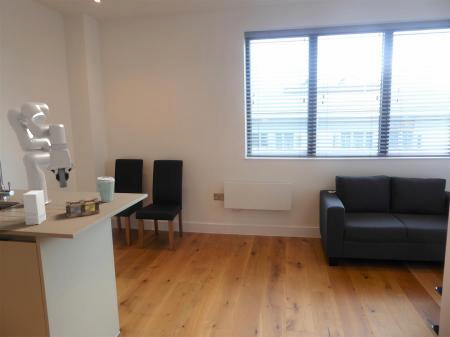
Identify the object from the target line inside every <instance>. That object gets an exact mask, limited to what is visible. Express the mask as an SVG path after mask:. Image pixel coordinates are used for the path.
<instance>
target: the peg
mask: <svg viewBox="0 0 450 337" xmlns="http://www.w3.org/2000/svg"><path fill="white" fill-rule="evenodd" d="M58 174H59V181H58V184H59V188H61V189H63V188H68V181H67V180H66V169H65V168H60V169H58Z"/></svg>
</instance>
